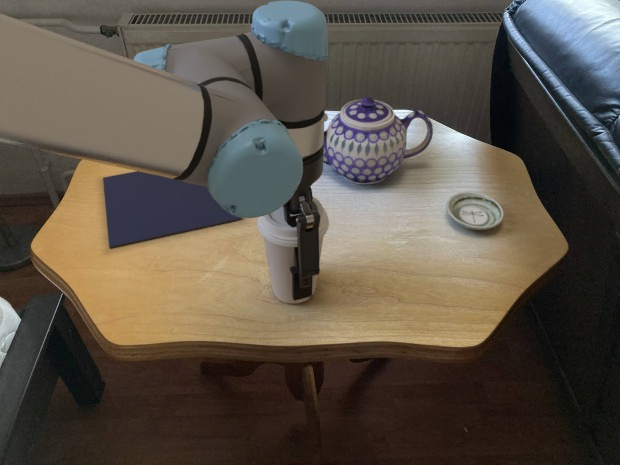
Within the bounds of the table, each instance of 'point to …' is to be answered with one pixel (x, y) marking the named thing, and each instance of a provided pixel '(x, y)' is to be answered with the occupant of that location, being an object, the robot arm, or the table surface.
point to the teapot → (370, 140)
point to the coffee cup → (286, 249)
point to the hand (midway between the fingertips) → (293, 277)
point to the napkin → (157, 208)
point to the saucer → (474, 210)
